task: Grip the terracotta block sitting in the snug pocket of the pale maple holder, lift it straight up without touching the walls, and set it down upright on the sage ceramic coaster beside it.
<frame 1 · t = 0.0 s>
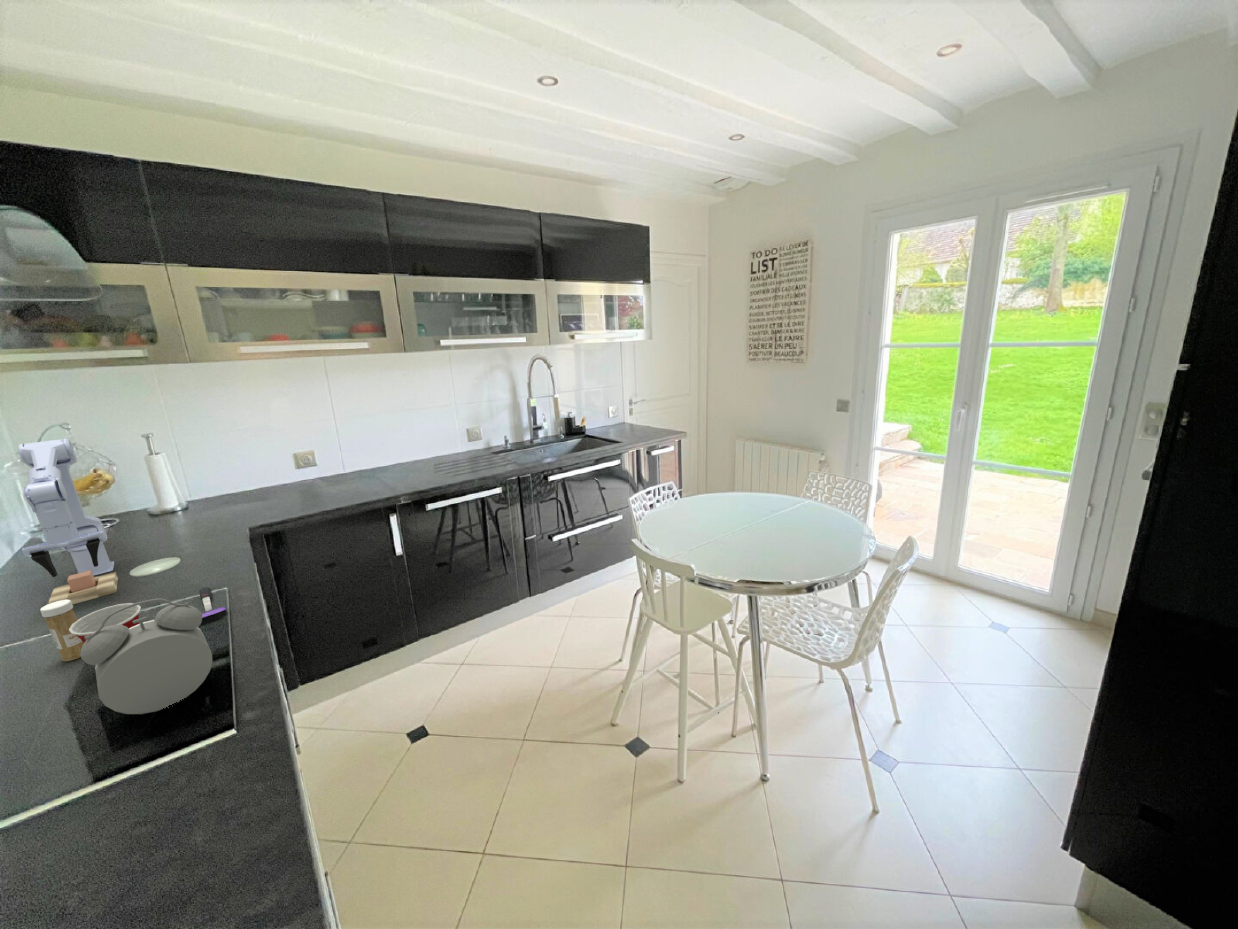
hand: (76, 570, 130), 10 cm above the counter, fingers open, 7 cm apart
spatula: (208, 606, 128), on the counter
maple pocket holder: (86, 593, 138), on the counter
alarm clock: (170, 703, 92), on the counter
plastic cup: (124, 664, 105), on the counter
terracotta block: (83, 584, 137), in the maple pocket holder
sprinkles bottle: (76, 656, 109), on the counter
sage coaster: (156, 567, 153), on the counter
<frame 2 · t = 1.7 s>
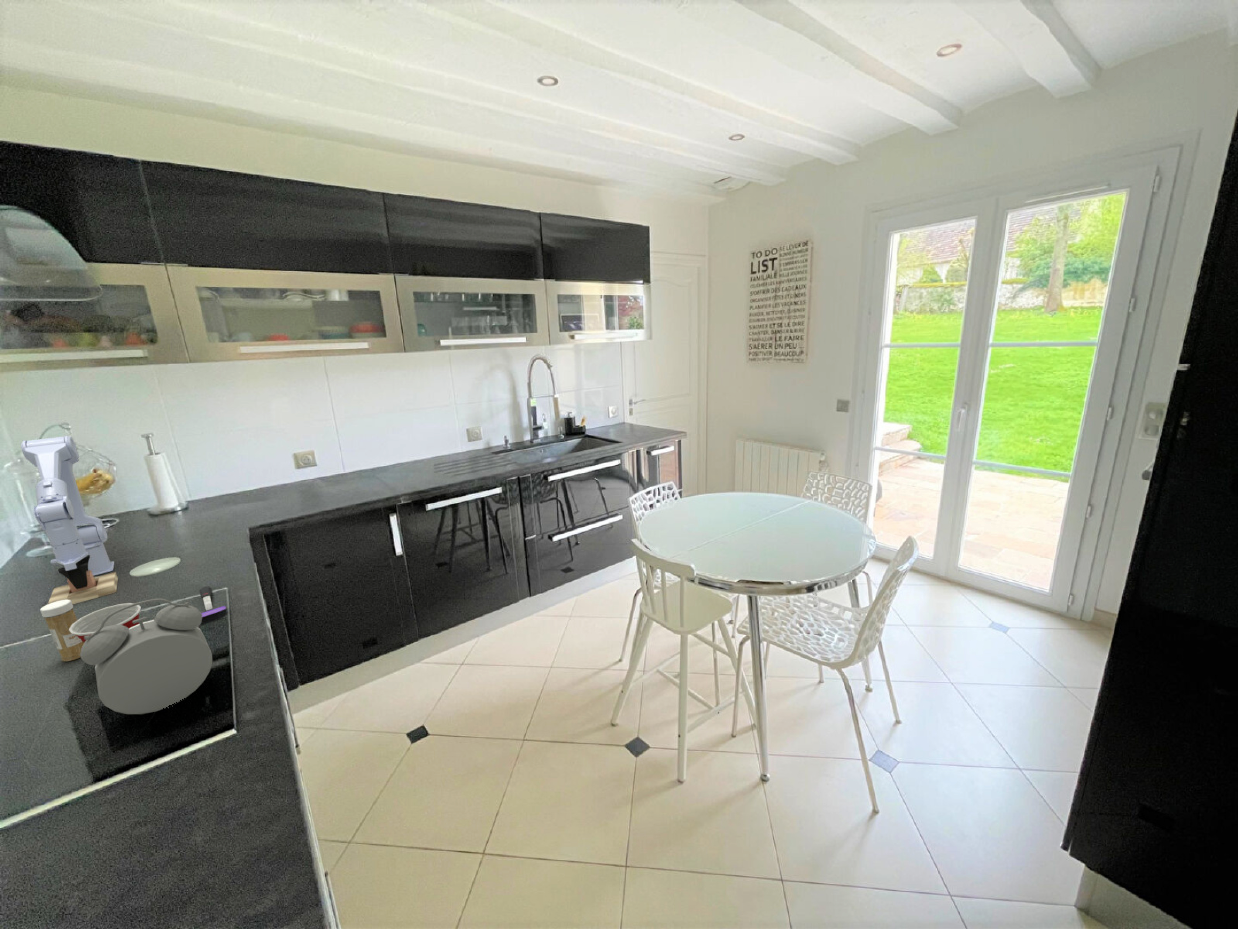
hand: (83, 584, 137), 3 cm above the counter, fingers closed on terracotta block, 4 cm apart
terracotta block: (82, 584, 137), in the maple pocket holder, touching gripper
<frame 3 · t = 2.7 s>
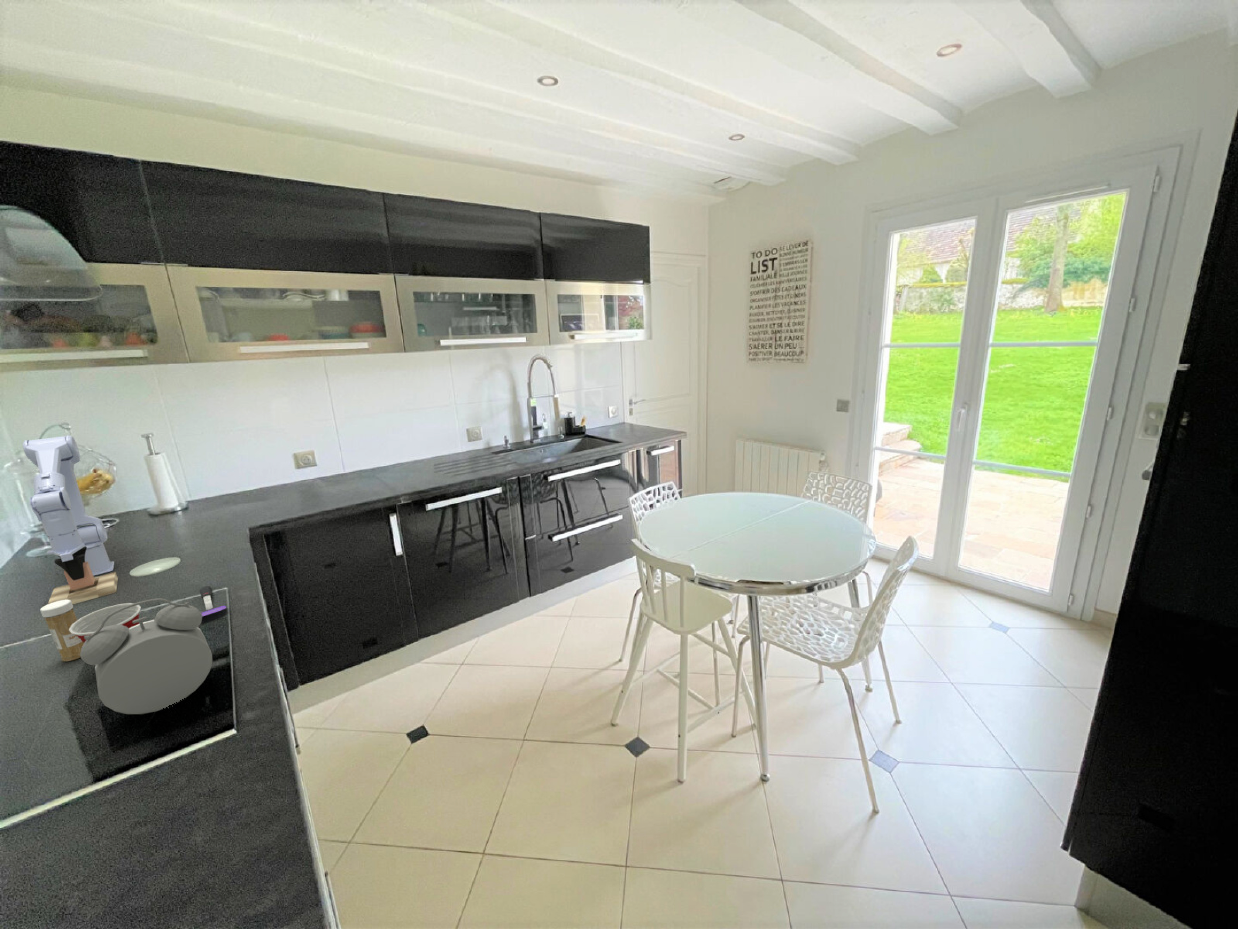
hand: (79, 576, 136), 6 cm above the counter, fingers closed on terracotta block, 4 cm apart
terracotta block: (79, 575, 136), point 6 cm above the counter, touching gripper
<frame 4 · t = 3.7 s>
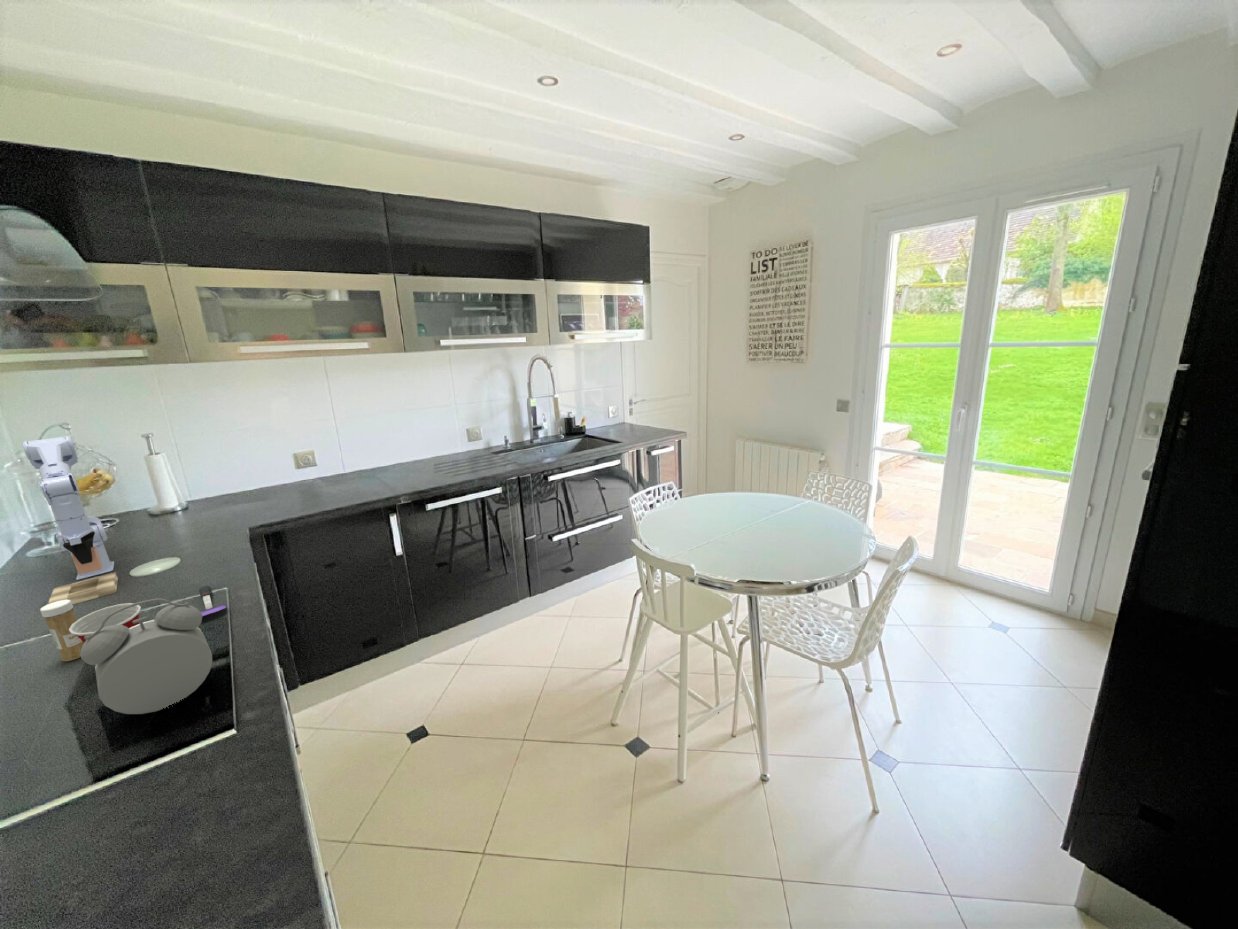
hand: (87, 560, 138), 9 cm above the counter, fingers closed on terracotta block, 4 cm apart
terracotta block: (87, 560, 138), point 9 cm above the counter, touching gripper
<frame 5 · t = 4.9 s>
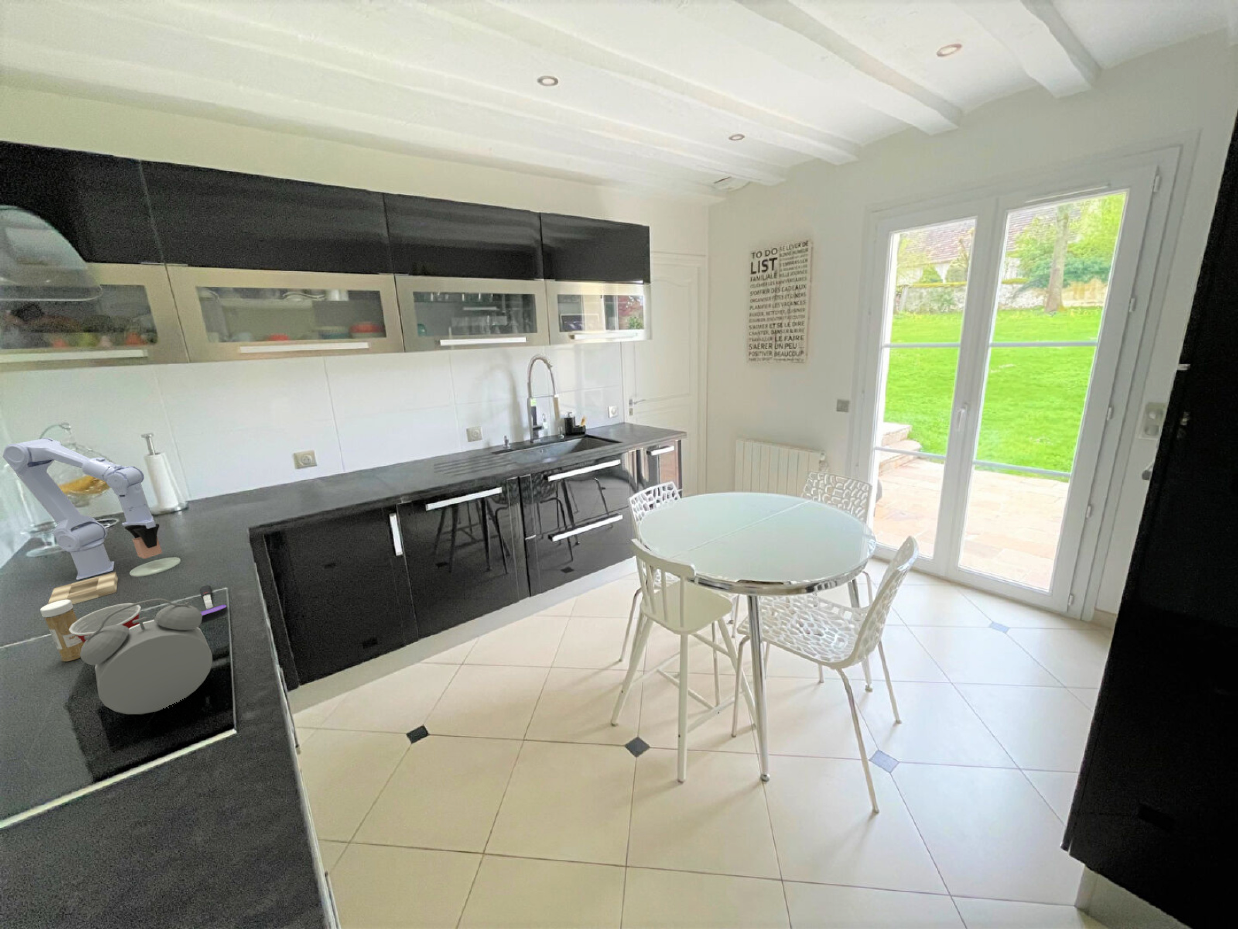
hand: (148, 545, 151), 8 cm above the counter, fingers closed on terracotta block, 4 cm apart
terracotta block: (147, 546, 150), point 8 cm above the counter, touching gripper
when the fingers open (5 cm above the counter, at t = 5.8 s): terracotta block drops 1 cm, resting on sage coaster.
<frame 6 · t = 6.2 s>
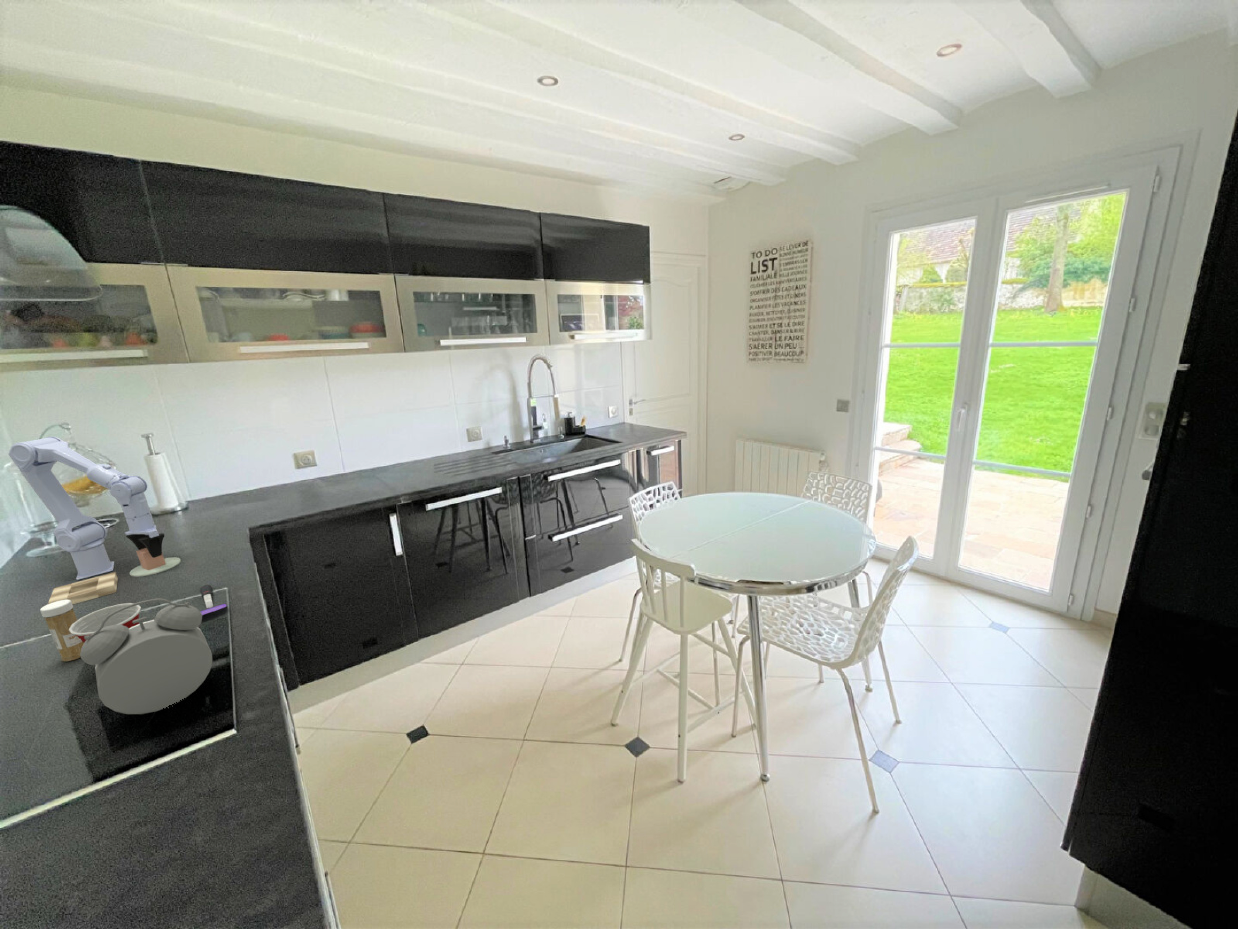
hand: (151, 554, 152), 5 cm above the counter, fingers open, 7 cm apart
terracotta block: (151, 557, 151), on the sage coaster, point 4 cm above the counter
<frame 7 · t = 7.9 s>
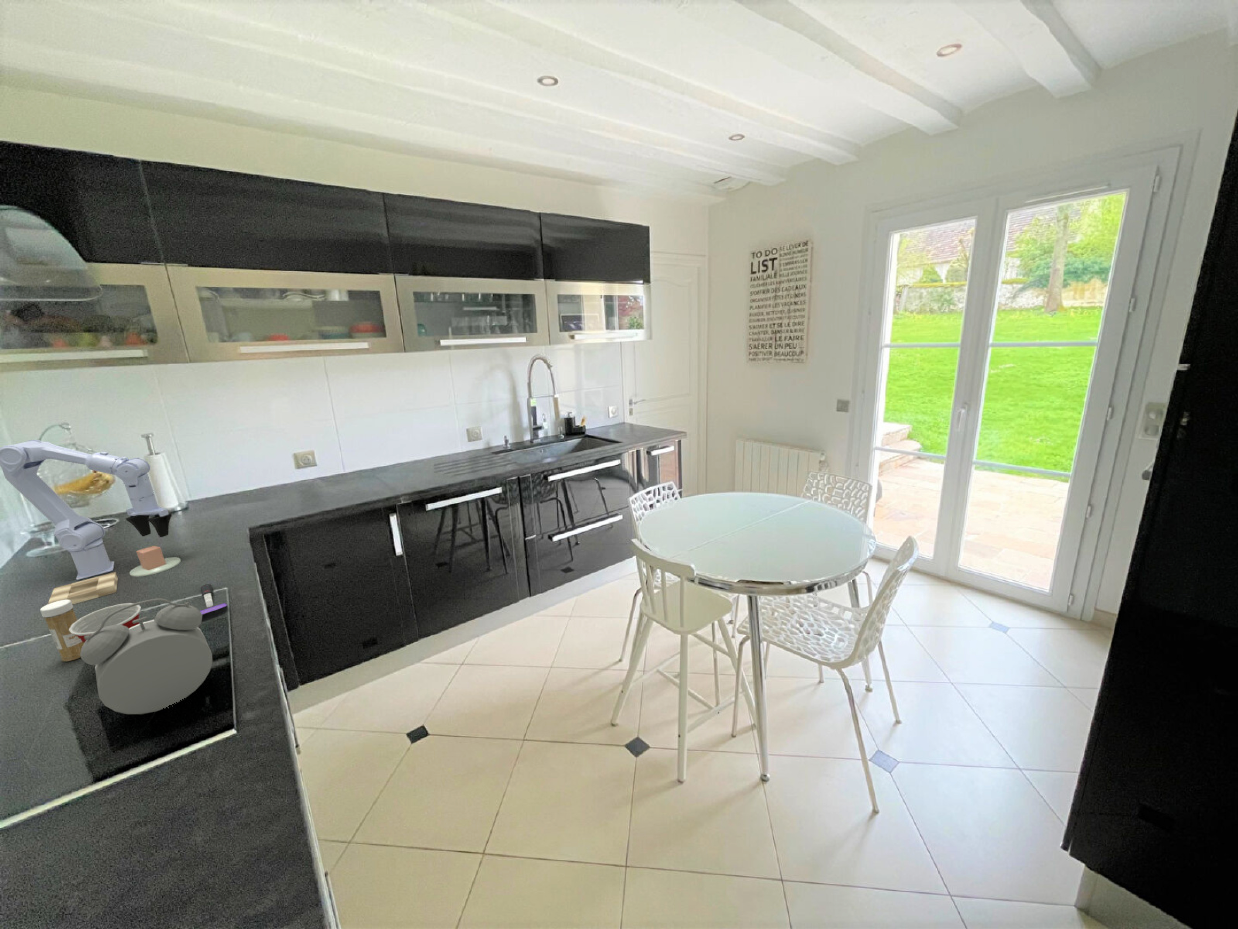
hand: (155, 535, 154), 9 cm above the counter, fingers open, 7 cm apart
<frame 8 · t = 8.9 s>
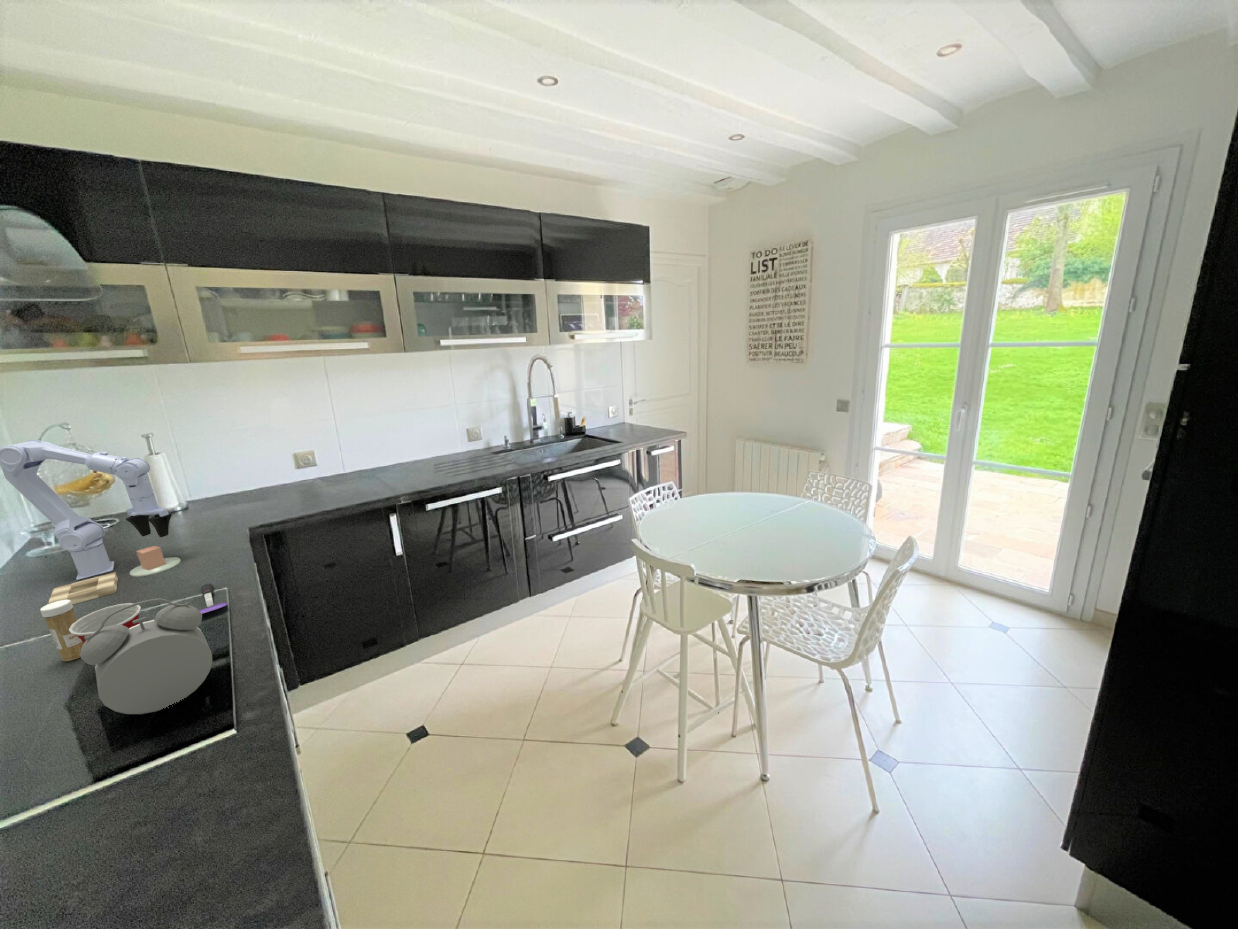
hand: (155, 535, 154), 9 cm above the counter, fingers open, 7 cm apart
at the end: terracotta block 0.3 cm off-centre on the sage coaster, point 3.6 cm above the sage coaster's base; terracotta block tilted 0°; the gripper is holding nothing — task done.
